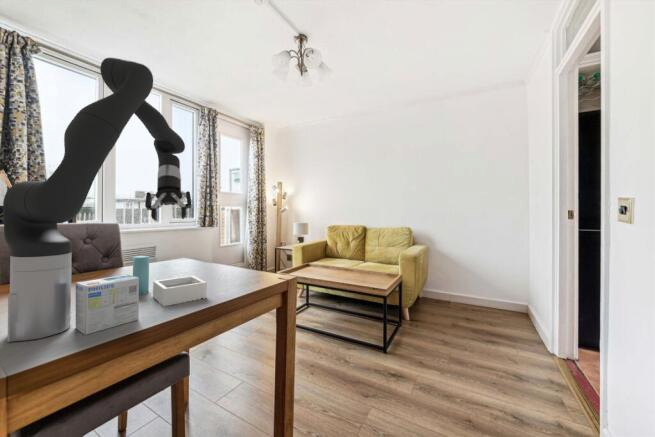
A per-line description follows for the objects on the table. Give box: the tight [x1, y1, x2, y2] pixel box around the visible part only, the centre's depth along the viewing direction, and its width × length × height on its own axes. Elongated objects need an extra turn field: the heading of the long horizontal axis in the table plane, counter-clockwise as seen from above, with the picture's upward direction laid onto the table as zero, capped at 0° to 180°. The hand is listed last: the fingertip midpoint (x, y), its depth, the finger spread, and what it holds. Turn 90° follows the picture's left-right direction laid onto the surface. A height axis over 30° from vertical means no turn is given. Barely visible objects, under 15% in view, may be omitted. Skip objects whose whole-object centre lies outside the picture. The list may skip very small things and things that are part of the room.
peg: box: [132, 255, 150, 296], centre depth 89 cm, size 4×4×12 cm
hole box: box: [152, 275, 208, 307], centre depth 85 cm, size 12×12×5 cm
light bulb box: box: [75, 274, 140, 336], centre depth 64 cm, size 11×7×11 cm, turn 149°
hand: (169, 218), depth 94 cm, fingers open, 8 cm apart
